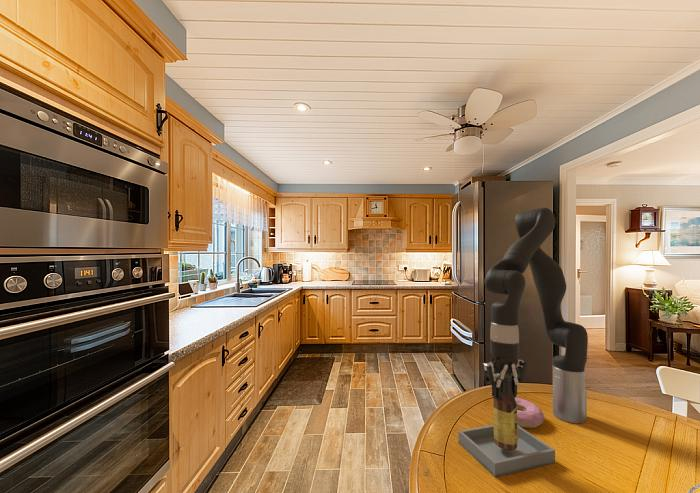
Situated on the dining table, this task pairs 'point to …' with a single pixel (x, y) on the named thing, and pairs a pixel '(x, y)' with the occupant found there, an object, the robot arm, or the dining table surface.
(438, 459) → the dining table surface
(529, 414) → the donut
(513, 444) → the sauce bottle
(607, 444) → the dining table surface
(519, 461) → the tray
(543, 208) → the robot arm
